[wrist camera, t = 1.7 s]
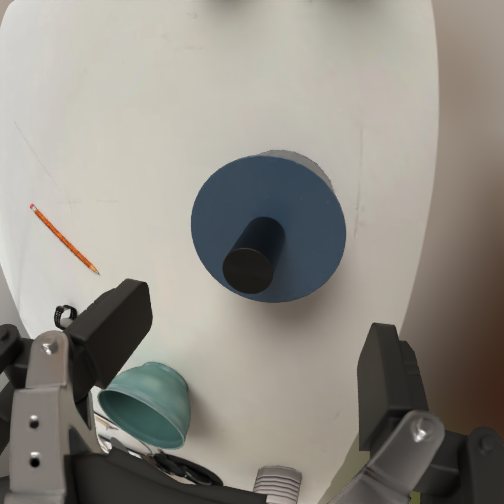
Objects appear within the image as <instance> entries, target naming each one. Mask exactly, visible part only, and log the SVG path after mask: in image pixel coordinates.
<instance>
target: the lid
mask: <svg viewBox="0 0 504 504" xmlns="http://www.w3.org/2000/svg"><path fill="white" fill-rule="evenodd" d="M191 232H192V239H193V243H194V246H195V249H196V252H197V254H198V256H199V258H200V260H201V262H202V263H203V265H204V266H205V268H206V269H207V270H208V272H209V273H210V274H211V275H212V276H213V277H214V278H215V279H216V280H217V281H218V282H219V283H220V284H222V285H223V286H224V287H226V288H227V289H229V290H230V291H232V292H234V293H236V294H238V295H240V296H242V297H245V298H248V299H251V300H255V301H260V302H269V303H279V302H287V301H292V300H296V299H299V298H301V297H304V296H306V295H308V294H310V293H312V292H314V291H315V290H317V289H318V288H319V287H321V286H322V285H323V284H324V283H325V282H326V281H327V280H328V279H329V278H330V277H331V276H332V274H333V273H334V272H335V270H336V268H337V267H338V265H339V263H340V260H341V258H342V256H343V252H344V248H345V241H346V225H345V220H344V215H343V212H342V209H341V206H340V203H339V201H338V199H337V197H336V195H335V194H334V192H333V191H332V189H331V188H330V186H329V185H328V184H327V183H326V182H325V181H324V180H323V179H322V178H321V177H320V176H319V175H318V174H317V173H315V172H314V171H313V170H311V169H310V168H308V167H307V166H305V165H303V164H301V163H299V162H297V161H295V160H292V159H289V158H285V157H282V156H275V155H253V156H247V157H244V158H240V159H237V160H235V161H233V162H230V163H228V164H226V165H225V166H223V167H222V168H220V169H219V170H217V171H216V172H215V173H214V174H213V175H211V176H210V178H209V179H208V180H207V181H206V182H205V183H204V185H203V186H202V188H201V189H200V191H199V193H198V195H197V197H196V199H195V202H194V206H193V210H192V216H191Z"/></svg>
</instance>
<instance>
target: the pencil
mask: <svg viewBox="0 0 504 504" xmlns="http://www.w3.org/2000/svg"><path fill="white" fill-rule="evenodd" d="M30 208H31V209H32V210H33V211H34V213H35V214H36V215H37V216H38V217H39V218H40V219H41V220H42V221H43V222H44V223H45V225H46V226H47V227H48V228H49V229H50V230H51V231H52V232H53V233H54V234H55V235H56V236H57V237H58V238H59V239H60V240H61V241H62V242H63V243H64V244H65V245H66V246H67V247H68V248H69V249H70V250H71V251H72V252H73V253H74V254H75V255H76V256H77V257H78V258H79V259H80V260H81V261H82V262H83V263H84V264H85V265H86V266H87V267H88V268H90V269H91V270H93V271H95V272H96V273H98V272H97V270H96V269H95V267H94V266H93V265H92V264H91V263H90V262H89V261H88V260H87V259H86V258H85V257H84V256H83V255H82V254H81V253H80V252H78V251H77V250H76V249H75V248H74V247H73V246H72V245H71V244H70V243H69V242H68V241H67V240H66V239H65V238H64V237H63V236H62V235H61V234H60V233H59V232H58V231H57V230H56V229H55V228H54V226H53V225H52V224H51V223H50V222H49V221H48V220H47V219H46V218H45V217H44V216H43V215H42V214H41V213H40V212H39V211H38V209H37V208H36V207H35V206H34V205H33V204H31V205H30Z"/></svg>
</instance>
